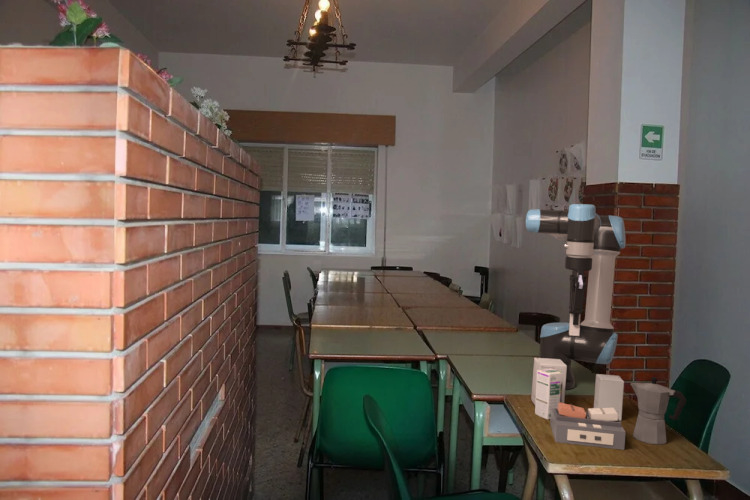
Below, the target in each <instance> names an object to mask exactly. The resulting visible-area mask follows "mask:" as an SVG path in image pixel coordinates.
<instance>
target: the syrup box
mask: <svg viewBox="0 0 750 500" xmlns="http://www.w3.org/2000/svg"><path fill="white" fill-rule="evenodd" d="M562 385H563V373H562V372H560V371H558V370H555V369H551V368H550V369H543V370H537V383H536V403H535V405H534V407H535V408H534V414H535V415H537V416H538V417H540V418H543V419H545V420H546V421H547V420H551V408H553V409H554V408H558V403H559V402H561V403H562Z"/></svg>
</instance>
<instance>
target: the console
mask: <svg viewBox="0 0 750 500" xmlns="http://www.w3.org/2000/svg"><path fill="white" fill-rule="evenodd" d="M585 412H586V417H585V418H577V417H569V416H565V415H561V414H559V412H558V409H557V408H554V409H553V408H551V419H549V421H550V423H549V424H550V425H549V426H550V428H551V431H552V436H553V438H554V441H555V443H562V444H570V445H580V446H586V447H587V446H588V447H596V448H604V449H605V448H606V449H614V450H620V451H621V450H622V451H624V450H625V445H626V431H625V429H624V427H623V426H622V421H620V420H619V419H618V420H616V421H605V420H596V419H590V417H589V415H588V411H586V410H585Z"/></svg>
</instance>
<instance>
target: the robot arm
mask: <svg viewBox="0 0 750 500" xmlns="http://www.w3.org/2000/svg"><path fill="white" fill-rule="evenodd" d="M596 211H597V210H596V206H595V205H594V204H587V203H586V204H585V203H584V204H583V203H581V204H580V203H572V204H570V205H569V206H568V210H567V209H566V210H565V209H564V210H563V209H562V210H561V209H560V210H557V209H541V208H537V209H534V208H533V209H529V210H528V211H527V213H526V215H525V228H526V231H527V232H529V233H535V234H538V233H539V234H545V235H550V236H553V237H554V239H556V240H557V241H560V242H564V243H565V244H564V248H565V249H566V250H565V254H566V255H567V256H565V262H564V268H565V269H566V270H570V271H572V273H571V275H569V303H568V305H569V306H568V309H569V311H568V314H569V322H549V323H546V324H543V325H542V326H541V329H540V335H539V339H540V340H539V352H538V353H539V356H538V358H549V359H560V360H561V361H562V362H563V363H564V364H566V366H567V371H566V384H565V391H566V390H572V389H574V388H575V385H576V381H575V379H576V378H575V376H574V372H573V368H572V360H573V361H578V362H579V361H581V362H587V363H594V364H600V365H609V364H611V363H612V360H613V359H614V355H615V352H616V348H617V344H618V337H619V334H618V333H616V332H614V331H615V329H614V328H615V327H614V326H613V325H612V324H611V313H612V312H611V311H612V302H613V288H614V278H615V277H614V275H615V264H616V257H618V256H619V255H620V254H621V249H625V248H626V239H627V237H626V229H625V222H624V219H623V217H621V216H617V215H610V214H609V215H608V214H607V215H604V214H603V215H602V214H598V213H596ZM586 271H588V279H586V276H585V273H584V272H586ZM586 281H587V282H586ZM586 286H587V290H586ZM585 291H586V301H585V302H586V303H585V311H584V312H585V314H584V315H585V316H584V320H583V321H581V315H582V314H583V309H584V299H585V298H584V297H585Z"/></svg>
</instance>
